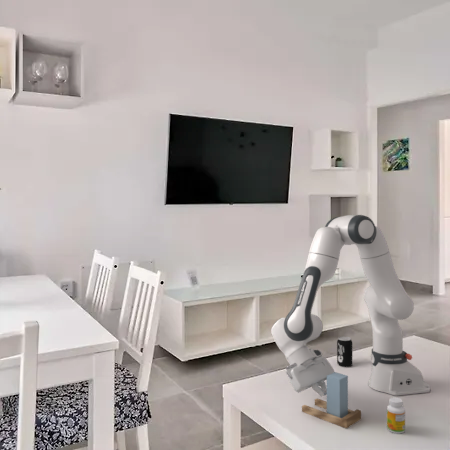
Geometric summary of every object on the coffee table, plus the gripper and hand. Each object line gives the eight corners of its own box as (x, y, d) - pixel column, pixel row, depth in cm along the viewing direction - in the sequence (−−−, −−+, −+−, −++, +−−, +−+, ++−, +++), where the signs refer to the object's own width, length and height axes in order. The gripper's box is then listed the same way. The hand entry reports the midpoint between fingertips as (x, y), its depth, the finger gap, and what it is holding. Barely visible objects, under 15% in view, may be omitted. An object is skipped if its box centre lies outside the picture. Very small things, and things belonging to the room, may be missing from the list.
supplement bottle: (384, 426, 151) (384, 396, 151) (400, 425, 152) (400, 395, 151) (391, 434, 146) (391, 403, 145) (408, 433, 146) (408, 402, 146)
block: (326, 417, 158) (326, 375, 157) (335, 412, 161) (334, 372, 160) (339, 421, 154) (339, 379, 153) (347, 416, 158) (347, 375, 157)
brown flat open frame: (301, 411, 163) (301, 403, 162) (317, 403, 169) (317, 395, 169) (346, 428, 150) (346, 419, 150) (361, 419, 156) (361, 410, 156)
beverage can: (352, 367, 205) (352, 340, 204) (337, 367, 206) (337, 340, 206) (351, 362, 211) (351, 336, 211) (336, 362, 213) (336, 335, 212)
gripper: (288, 362, 158) (312, 399, 152) (323, 349, 172) (346, 382, 166) (278, 372, 162) (301, 409, 155) (313, 358, 176) (336, 391, 169)
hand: (325, 395), depth 161 cm, fingers closed
